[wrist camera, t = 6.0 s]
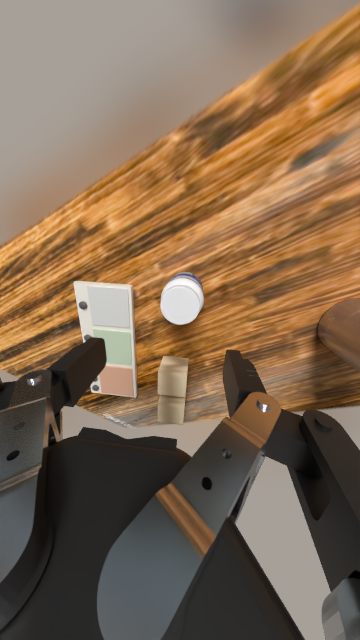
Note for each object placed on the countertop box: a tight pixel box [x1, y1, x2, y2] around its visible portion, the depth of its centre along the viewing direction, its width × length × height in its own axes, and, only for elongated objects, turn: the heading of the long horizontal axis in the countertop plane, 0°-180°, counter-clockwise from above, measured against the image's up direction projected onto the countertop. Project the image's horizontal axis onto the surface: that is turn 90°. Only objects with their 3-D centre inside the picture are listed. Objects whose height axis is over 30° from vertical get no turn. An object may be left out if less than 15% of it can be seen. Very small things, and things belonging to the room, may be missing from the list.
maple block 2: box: [158, 394, 186, 425], centre depth 37 cm, size 5×5×5 cm
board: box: [74, 281, 138, 398], centre depth 35 cm, size 10×24×1 cm, turn 177°
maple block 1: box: [158, 356, 189, 397], centre depth 34 cm, size 5×5×5 cm
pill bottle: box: [161, 272, 204, 325], centre depth 26 cm, size 6×6×10 cm
